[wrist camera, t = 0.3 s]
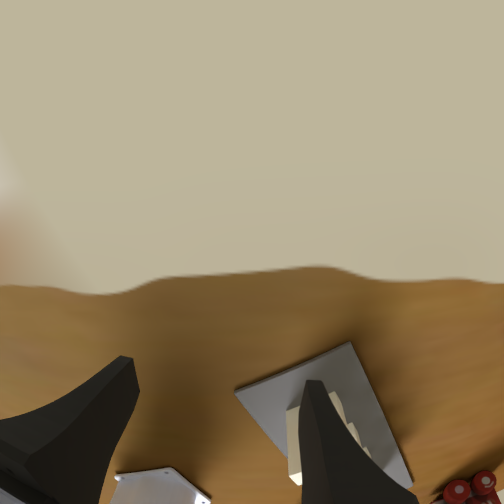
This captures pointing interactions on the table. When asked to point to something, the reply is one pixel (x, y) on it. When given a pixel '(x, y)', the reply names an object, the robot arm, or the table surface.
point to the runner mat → (335, 379)
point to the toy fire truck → (471, 491)
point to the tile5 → (293, 440)
